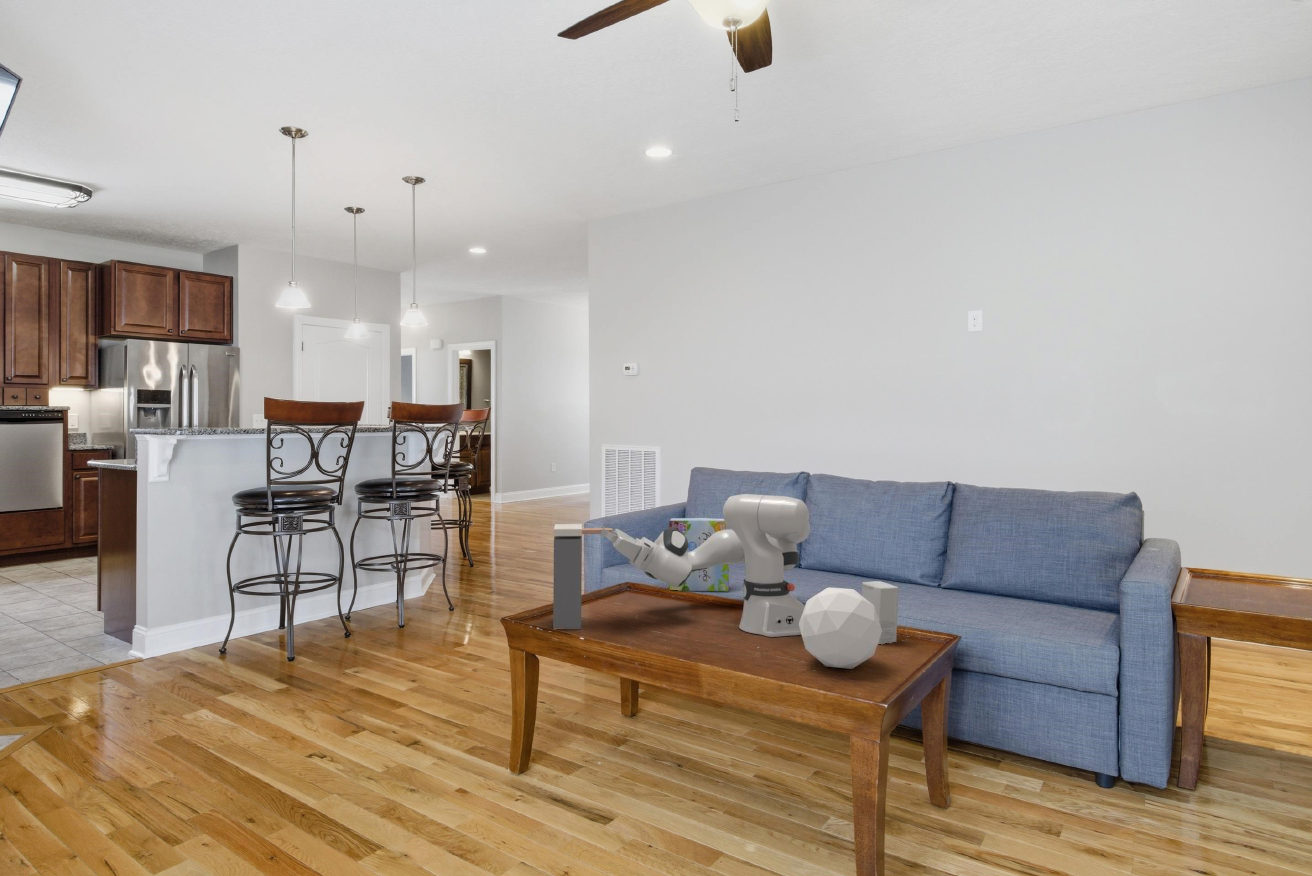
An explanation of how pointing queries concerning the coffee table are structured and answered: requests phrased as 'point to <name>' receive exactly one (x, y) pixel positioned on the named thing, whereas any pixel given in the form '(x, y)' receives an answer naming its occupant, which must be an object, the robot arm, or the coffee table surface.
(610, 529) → the lid
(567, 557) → the carton
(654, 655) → the coffee table surface
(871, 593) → the skincare box
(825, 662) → the geometric sculpture
